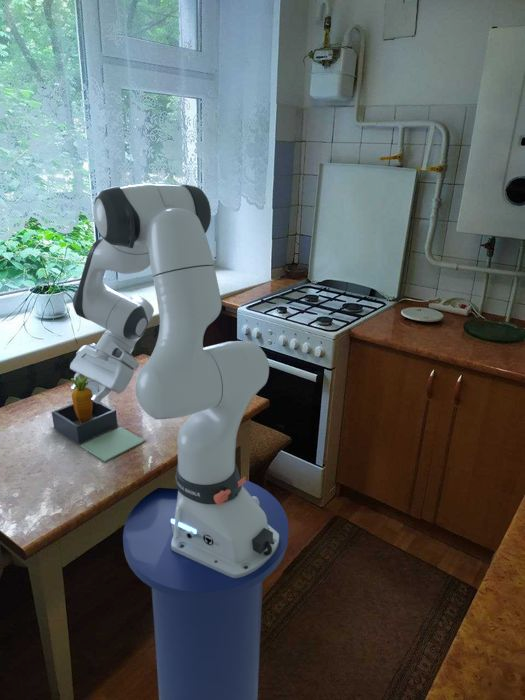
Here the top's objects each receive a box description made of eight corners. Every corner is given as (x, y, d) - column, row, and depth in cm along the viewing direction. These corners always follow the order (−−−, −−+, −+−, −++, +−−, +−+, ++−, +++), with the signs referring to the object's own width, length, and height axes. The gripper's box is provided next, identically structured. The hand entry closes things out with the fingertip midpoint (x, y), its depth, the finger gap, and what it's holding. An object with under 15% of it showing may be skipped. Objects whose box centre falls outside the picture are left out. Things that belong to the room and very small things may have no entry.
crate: (117, 426, 133) (116, 410, 131) (78, 444, 124) (76, 427, 123) (92, 412, 139) (90, 396, 138) (53, 428, 131) (51, 411, 129)
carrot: (72, 430, 130) (65, 378, 125) (83, 421, 135) (77, 371, 129) (88, 433, 129) (82, 382, 123) (99, 424, 134) (94, 374, 128)
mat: (145, 441, 127) (144, 440, 127) (104, 462, 118) (104, 460, 118) (120, 427, 132) (120, 426, 132) (80, 446, 124) (80, 445, 123)
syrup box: (87, 387, 153) (82, 344, 148) (105, 388, 153) (101, 345, 148) (80, 396, 148) (74, 351, 143) (99, 397, 148) (95, 352, 142)
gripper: (81, 336, 136) (53, 379, 132) (128, 356, 124) (98, 404, 121) (97, 346, 141) (70, 389, 137) (143, 366, 129) (115, 413, 126)
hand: (83, 396), depth 129 cm, fingers open, 8 cm apart
